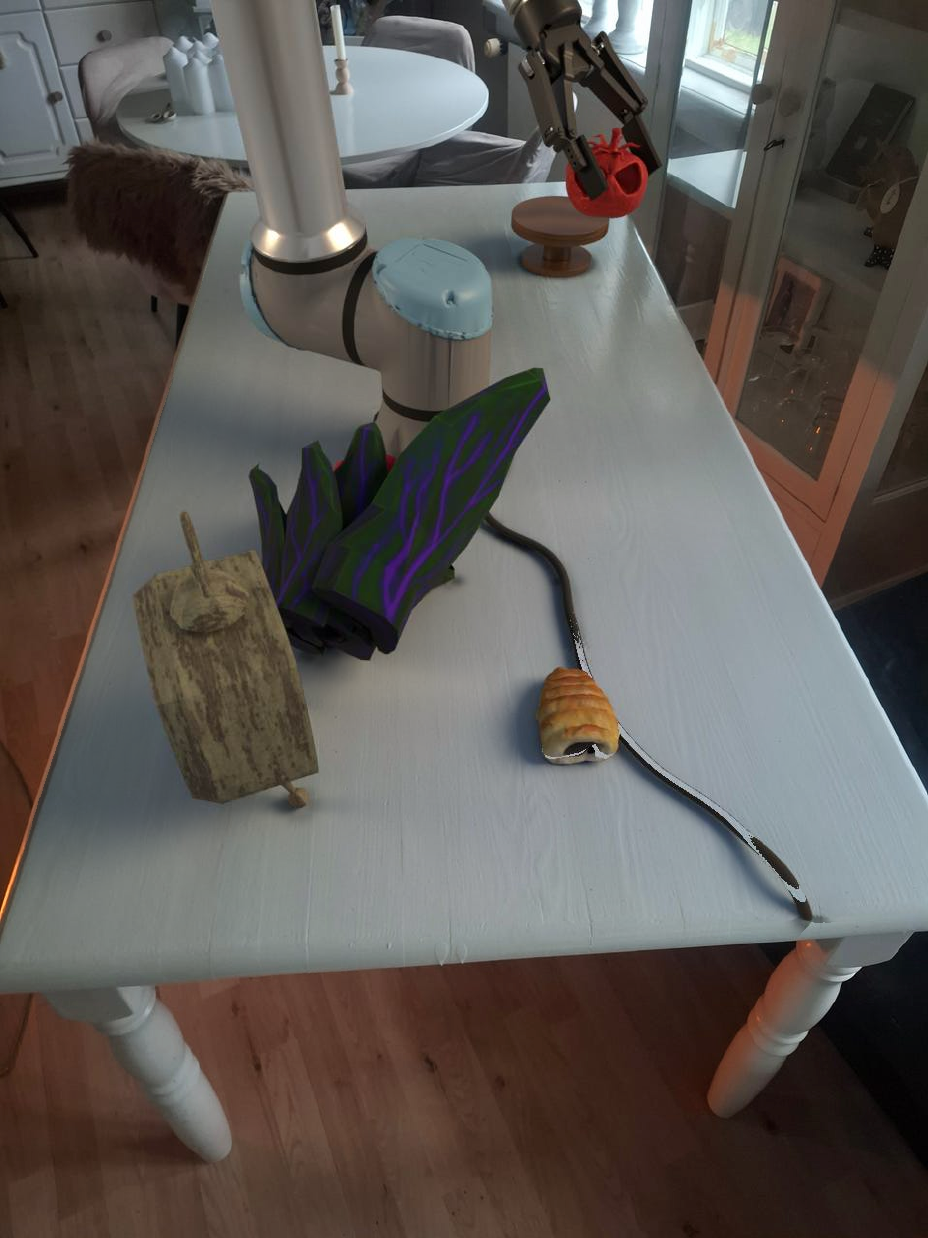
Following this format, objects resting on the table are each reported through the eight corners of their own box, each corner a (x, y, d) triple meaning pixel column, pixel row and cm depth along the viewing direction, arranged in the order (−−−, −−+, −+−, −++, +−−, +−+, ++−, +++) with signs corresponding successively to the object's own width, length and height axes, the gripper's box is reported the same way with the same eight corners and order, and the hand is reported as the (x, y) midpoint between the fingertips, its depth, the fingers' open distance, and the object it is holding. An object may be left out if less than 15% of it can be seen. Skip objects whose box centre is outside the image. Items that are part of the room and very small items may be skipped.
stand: (614, 280, 133) (621, 232, 127) (518, 285, 131) (521, 236, 126) (591, 239, 143) (596, 193, 138) (501, 244, 141) (504, 197, 136)
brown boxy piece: (328, 816, 67) (283, 586, 49) (212, 856, 65) (120, 629, 47) (283, 683, 77) (231, 448, 58) (179, 713, 74) (92, 478, 56)
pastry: (527, 681, 77) (530, 653, 74) (601, 677, 77) (607, 649, 75) (542, 770, 71) (546, 742, 68) (623, 765, 71) (630, 737, 68)
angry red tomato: (564, 191, 112) (571, 112, 105) (641, 196, 111) (654, 116, 104) (560, 222, 105) (568, 139, 98) (643, 228, 104) (656, 144, 97)
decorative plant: (287, 695, 87) (393, 469, 101) (507, 718, 73) (596, 451, 86) (141, 576, 73) (287, 331, 86) (379, 576, 58) (510, 281, 72)
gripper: (581, 9, 108) (661, 176, 112) (454, 40, 98) (547, 224, 102) (620, -37, 102) (703, 142, 106) (489, -9, 91) (587, 190, 95)
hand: (627, 182), depth 104 cm, fingers closed on angry red tomato, 9 cm apart
